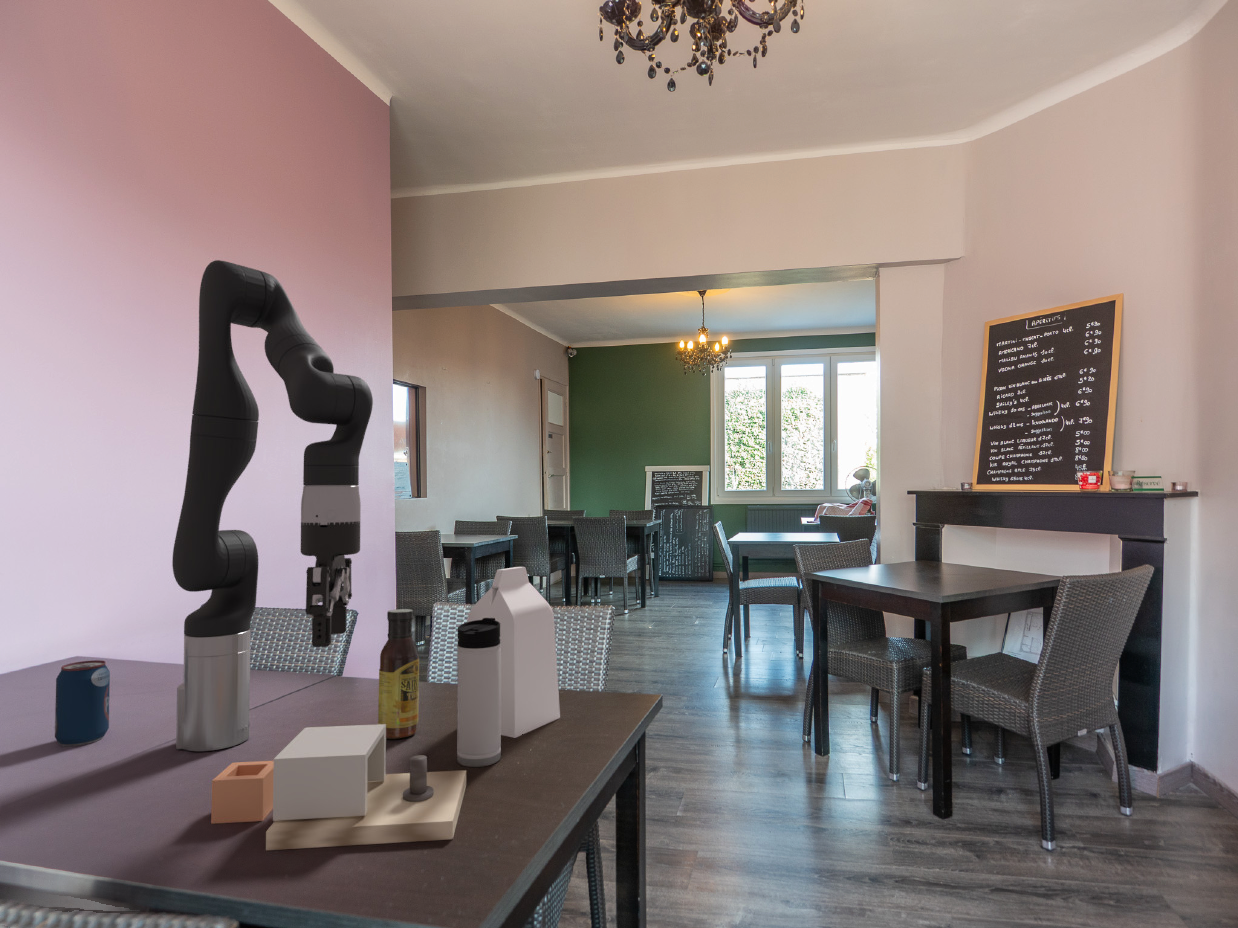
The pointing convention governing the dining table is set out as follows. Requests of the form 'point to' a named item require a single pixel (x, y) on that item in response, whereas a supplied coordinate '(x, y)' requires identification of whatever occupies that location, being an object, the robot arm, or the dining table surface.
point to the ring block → (243, 792)
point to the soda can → (82, 703)
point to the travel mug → (479, 693)
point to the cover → (328, 771)
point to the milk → (522, 651)
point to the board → (385, 813)
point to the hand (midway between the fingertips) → (330, 639)
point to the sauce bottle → (399, 677)
